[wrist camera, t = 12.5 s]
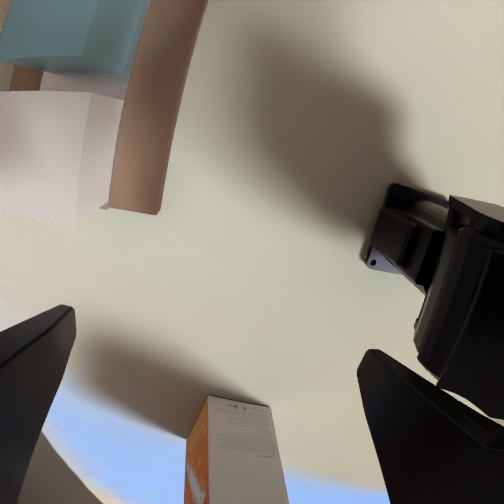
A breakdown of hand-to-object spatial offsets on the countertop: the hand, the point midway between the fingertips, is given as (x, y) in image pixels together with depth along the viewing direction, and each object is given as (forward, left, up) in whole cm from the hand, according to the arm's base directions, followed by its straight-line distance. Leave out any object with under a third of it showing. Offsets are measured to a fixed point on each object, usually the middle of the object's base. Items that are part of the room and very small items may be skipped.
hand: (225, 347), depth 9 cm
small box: (-4, +20, -13) cm, 24 cm away
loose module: (+10, -11, -11) cm, 18 cm away
